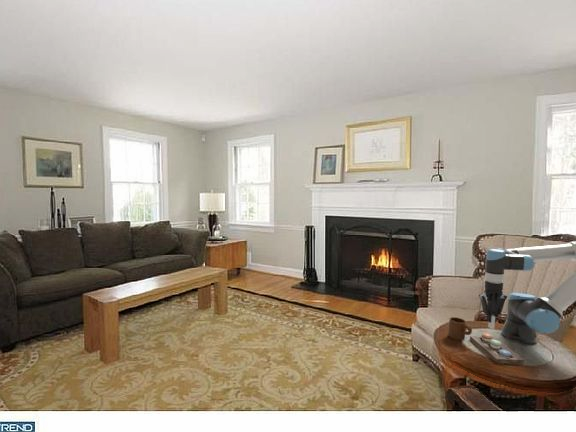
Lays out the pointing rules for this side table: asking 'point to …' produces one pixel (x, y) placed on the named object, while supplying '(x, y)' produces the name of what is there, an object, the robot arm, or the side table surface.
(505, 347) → the button panel
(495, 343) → the sage button
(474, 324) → the side table surface
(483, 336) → the terracotta button
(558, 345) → the side table surface
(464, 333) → the mug
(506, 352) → the blue button
